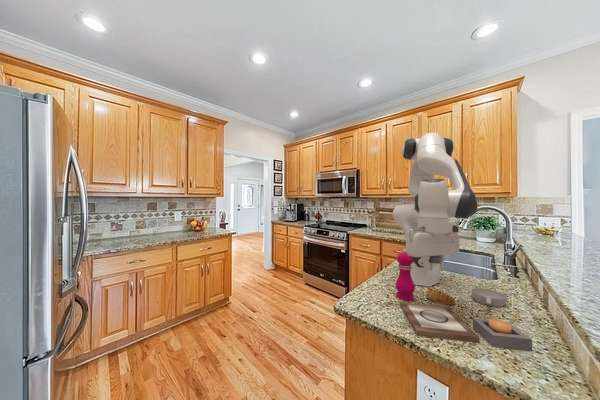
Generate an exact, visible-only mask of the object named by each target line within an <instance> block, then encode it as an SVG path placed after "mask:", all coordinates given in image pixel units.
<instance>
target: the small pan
mask: <svg viewBox="0 0 600 400" xmlns="http://www.w3.org/2000/svg"><path fill="white" fill-rule="evenodd" d="M471 295H472V297H473V299H474V300H475V301H476V302H477V303H481V304H482V305H485V306H489V307H494V308H495V307H496V308H497V307H498V308H499V307H500V308H501V307H502V308H503V307H504V306H505V305H506V304H507V302H508V296H507V295H506V294H504V293H502V292H500V291H496V290H494V289H493V290H492V289H488V288H481V287H474V288H471Z"/></svg>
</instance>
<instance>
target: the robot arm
mask: <svg viewBox="0 0 600 400" xmlns="http://www.w3.org/2000/svg"><path fill="white" fill-rule="evenodd" d="M454 151H455V146H454V141H453V139H451V138H447V137H442V135H441V134H439V133H438V132H428V133H425V134H424V135H422V136H421V137H420V138H413V137H411V138H409V139H406V140H405V141H404V142H403V144H402V146H401V155H402V158H404V159H405V160H409V161H411V160H413V162H412V164H411V168H410V172H409V179H408V189H407V191H408V194H409V195H410V196H412V197H414V203H405V204H399V205H395V207H394V209H393V210H392V218H393V220H394V221H395V222H396V223H397V224H398V225H399V227H400V228H401V229H402V231H403V234H404V238H405V239H404V240H405V249H406V252H407V254H408V255H409V256H412V258H413V263H412V264H411V266H412V267H411V268H412V269H411V271H410V273H411V278H412V281H413V283H414V284H418V285H424V286H423V287H433V286H432V285H434V284H435V285H437V284H436V283H439V284H440V282H432V281H429V280H427V270H431V269H432V268H431V267H432V265H431V264H430V263H429V259H430V256H440V270H442V269H443V267H444V266H443V264H444V262H445V261H446V256H451V255H458V253H459V251H460V247H461V244H460V241H461V240H460V234H458V233H461V227H460V226H459V225H457V224H454V223H453V222H450V218H456V219H464V220H467V219H469V218H470V217H472V216H474V215H475V214H476V213H477V212H478V208H479V206H478V204H479V202H478V198H477V196H476V194H475V192H474V191H473V190H472V188H471V186H470V184H469V181H468V179H467V177H466V175H465V172H464V169H463V168H462V166H461V164H460V162H459V161H458V160H457V158H456V159H455V158H454V157H451V156H452V154H453V153H454ZM435 175H436V176H441V177H444V178H434V177H435ZM445 178H447V179H449V180H450V182H451V184H452V187H453V189H450V190H449V186H448V181H447V180H446V179H445ZM398 277H399V276H398V275H397V278H398ZM418 285H417V286H418ZM435 285H434V286H435Z"/></svg>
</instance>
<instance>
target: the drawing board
mask: <svg viewBox="0 0 600 400" xmlns="http://www.w3.org/2000/svg"><path fill="white" fill-rule="evenodd" d="M399 307H400V309H401V310H402V312H403V314H404V316H405V317H406V319H407V320H408V323H409V324H410V326H411V328H412V330H413V331H414V333H415V335H416V336H419V337H425V338H434V339H444V340H452V341H459V342H461V341H462V342H471V343H476V344H478V343H481V342H480V338H481V337H480V336H479V335H478V334H477V333H476V331H474V330H473V329H472V328H470V326H469V325H468V324H466V323H465V322H464V321H463V320H462V319H461V318H460V317H459V316H458V315H457V313H455V312H454V311H453V310H451V308H450V307H449V306H446V305H437V304H436V305H435V304H427V303H415V302H406V301H405V302H403V301H400V302H399Z"/></svg>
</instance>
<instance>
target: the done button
mask: <svg viewBox="0 0 600 400" xmlns="http://www.w3.org/2000/svg"><path fill="white" fill-rule="evenodd" d="M488 320H489V328H490V329H491V330H492V331H494V332H495V333H504V334H512V330H511V325H512V324H511V323H509V322H508V321H507V322H508V323H507V322H505V320H502V319H498V318H489V319H488ZM510 324H511V325H510Z"/></svg>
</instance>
